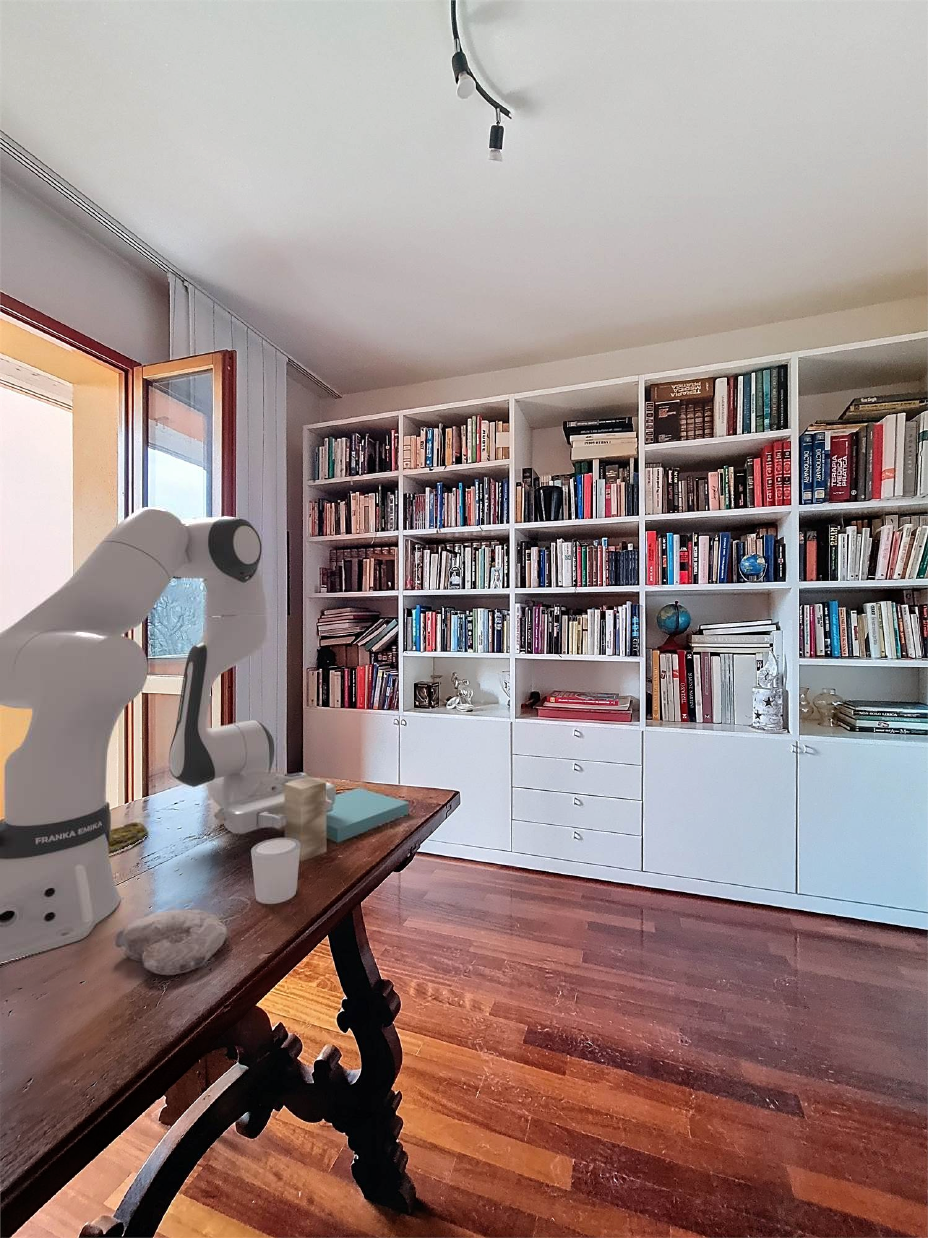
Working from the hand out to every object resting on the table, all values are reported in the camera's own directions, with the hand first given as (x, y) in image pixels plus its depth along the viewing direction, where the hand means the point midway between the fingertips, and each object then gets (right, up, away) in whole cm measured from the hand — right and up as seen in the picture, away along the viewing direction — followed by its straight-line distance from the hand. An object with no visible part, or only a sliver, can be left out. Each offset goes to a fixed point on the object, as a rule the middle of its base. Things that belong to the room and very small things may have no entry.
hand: (307, 814), depth 92 cm
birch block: (0, -7, 0) cm, 7 cm away
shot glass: (0, -7, -14) cm, 16 cm away
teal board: (+4, -7, +16) cm, 18 cm away
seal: (-36, -8, +5) cm, 38 cm away
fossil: (-8, -7, -28) cm, 30 cm away
